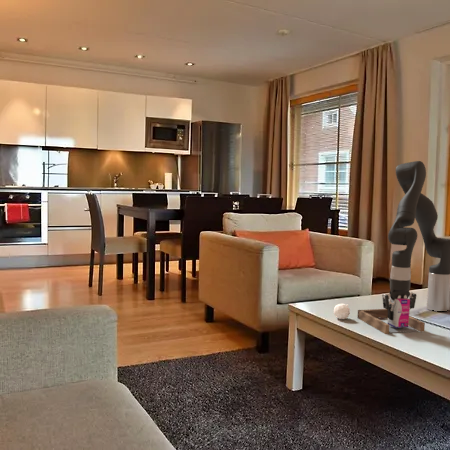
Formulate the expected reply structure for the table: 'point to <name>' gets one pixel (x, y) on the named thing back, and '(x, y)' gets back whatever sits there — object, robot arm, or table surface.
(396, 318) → the supplement box
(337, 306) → the ornament
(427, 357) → the table surface
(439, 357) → the table surface
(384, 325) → the shallow wooden tray
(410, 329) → the loading mat
